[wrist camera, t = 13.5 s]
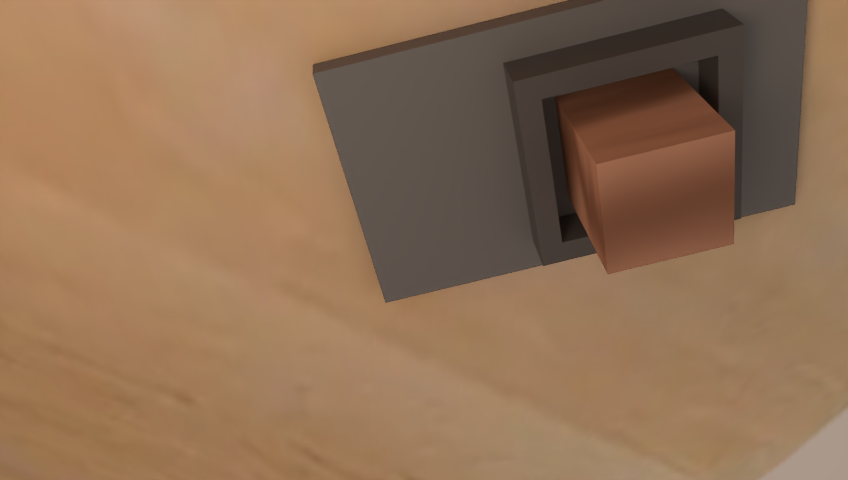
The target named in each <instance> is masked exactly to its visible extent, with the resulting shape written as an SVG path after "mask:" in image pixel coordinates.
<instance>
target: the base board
mask: <svg viewBox="0 0 848 480" xmlns="http://www.w3.org/2000/svg"><path fill="white" fill-rule="evenodd" d="M807 1H808V0H568V1H564V2H560V3H556V4H552V5H548V6H544V7H540V8H536V9H532V10H529V11H525V12H521V13H517V14H513V15H509V16H505V17H501V18H497V19H493V20H489V21H485V22H481V23H477V24H473V25H469V26H465V27H461V28H457V29H453V30H449V31H445V32H441V33H437V34H433V35H429V36H425V37H421V38H417V39H413V40H409V41H405V42H401V43H397V44H393V45H389V46H385V47H381V48H378V49H374V50H370V51H366V52H362V53H358V54H354V55H350V56H346V57H342V58H338V59H334V60H330V61H326V62H322V63H318V64H314V65H313V76H314V80H315V83H316V86H317V89H318V92H319V95H320V98H321V102H322V105H323V108H324V111H325V114H326V117H327V120H328V123H329V127H330V130H331V133H332V136H333V139H334V142H335V145H336V149H337V152H338V155H339V158H340V161H341V164H342V167H343V171H344V174H345V177H346V180H347V183H348V186H349V189H350V193H351V196H352V199H353V202H354V205H355V208H356V211H357V214H358V218H359V221H360V224H361V227H362V230H363V233H364V236H365V240H366V243H367V246H368V249H369V252H370V255H371V258H372V262H373V265H374V268H375V271H376V274H377V277H378V280H379V284H380V287H381V290H382V293H383V296H384V299H385V302H386V303H387V302H391V301H395V300H399V299H403V298H408V297H412V296H416V295H420V294H424V293H428V292H432V291H437V290H441V289H445V288H449V287H453V286H457V285H462V284H466V283H470V282H474V281H478V280H482V279H487V278H491V277H495V276H499V275H503V274H507V273H512V272H516V271H520V270H524V269H528V268H532V267H536V266H541V265H543V266H545V265H549V264H553V263H557V262H561V261H565V260H570V259H574V258H578V257H582V256H586V255H590V254H594V253H597V252H596V250H595V248H594V246H593V244H592V242H591V240H590V238H589V236H588V234H587V232H586V230H585V228H584V227H583V225H582V223H581V221H580V219H579V217H578V215H577V213H576V211H575V209H574V207H573V205H572V203H571V201H570V199H569V197H568V192H567V184H566V177H565V169H564V162H563V154H562V147H561V139H560V132H559V124H558V116H557V109H556V101H555V97H557V96H561V95H565V94H569V93H573V92H577V91H581V90H585V89H589V88H593V87H597V86H601V85H605V84H609V83H613V82H617V81H621V80H625V79H629V78H633V77H637V76H641V75H645V74H649V73H654V72H658V71H662V70H666V69H670V68H673V69H674V70H675V71H676V72H677V73H678V74H679V75H680V76H681V77H682V78H683V79H684V80H685V81H686V82H687V83H688V84H689V85H690V86H691V87H692V88H693V89H694V90H695V91H696V92H697V93H698V94H699V95H700V96H701V97H702V98H703V99H704V100H705V101H706V102H707V103H708V104H709V105H710V106H711V107H712V108H713V109H714V110H715V111H716V112H717V113H718V114H719V115H720V116H721V117H722V118H723V119H724V120H725V121H726V122H727V123H728V124H729V125H730V126H731V127H732V128H733V129H734V130H735V194H734V220H736V219H740V218H741V217H744V216H749V215H753V214H757V213H761V212H765V211H769V210H774V209H778V208H782V207H786V206H790V205H794V204H795V194H796V178H797V162H798V146H799V130H800V114H801V98H802V82H803V65H804V49H805V33H806V17H807Z"/></svg>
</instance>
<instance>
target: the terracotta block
mask: <svg viewBox="0 0 848 480" xmlns="http://www.w3.org/2000/svg"><path fill="white" fill-rule="evenodd" d="M555 101H556V109H557V116H558V124H559V132H560V139H561V147H562V154H563V162H564V169H565V177H566V184H567V192H568V197H569V199H570V201H571V203H572V205H573V207H574V209H575V211H576V213H577V215H578V217H579V219H580V221H581V223H582V225H583V227H584V228H585V230H586V232H587V234H588V236H589V238H590V240H591V242H592V244H593V246H594V248H595V250H596V252H597V254H598V256H599V258H600V260H601V262H602V264H603V266H604V268H605V270H606V271H607V273H608V274H610V273H614V272H618V271H623V270H627V269H631V268H635V267H639V266H643V265H648V264H652V263H656V262H660V261H664V260H669V259H673V258H677V257H681V256H685V255H689V254H694V253H698V252H702V251H706V250H710V249H714V248H719V247H723V246H727V245H731V244H734V194H735V130H734V129H733V128H732V127H731V126H730V125H729V124H728V123H727V122H726V121H725V120H724V119H723V118H722V117H721V116H720V115H719V114H718V113H717V112H716V111H715V110H714V109H713V108H712V107H711V106H710V105H709V104H708V103H707V102H706V101H705V100H704V99H703V98H702V97H701V96H700V95H699V94H698V93H697V92H696V91H695V90H694V89H693V88H692V87H691V86H690V85H689V84H688V83H687V82H686V81H685V80H684V79H683V78H682V77H681V76H680V75H679V74H678V73H677V72H676V71H675V70H674V69H673V68H670V69H666V70H662V71H658V72H654V73H649V74H645V75H641V76H637V77H633V78H629V79H625V80H621V81H617V82H613V83H609V84H605V85H601V86H597V87H593V88H589V89H585V90H581V91H577V92H573V93H569V94H565V95H561V96H557V97H555Z"/></svg>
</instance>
